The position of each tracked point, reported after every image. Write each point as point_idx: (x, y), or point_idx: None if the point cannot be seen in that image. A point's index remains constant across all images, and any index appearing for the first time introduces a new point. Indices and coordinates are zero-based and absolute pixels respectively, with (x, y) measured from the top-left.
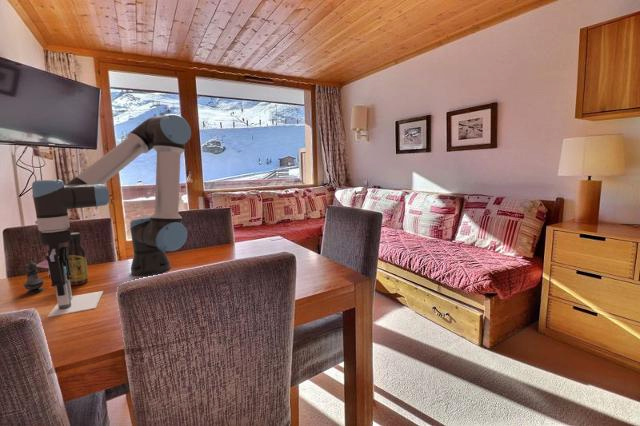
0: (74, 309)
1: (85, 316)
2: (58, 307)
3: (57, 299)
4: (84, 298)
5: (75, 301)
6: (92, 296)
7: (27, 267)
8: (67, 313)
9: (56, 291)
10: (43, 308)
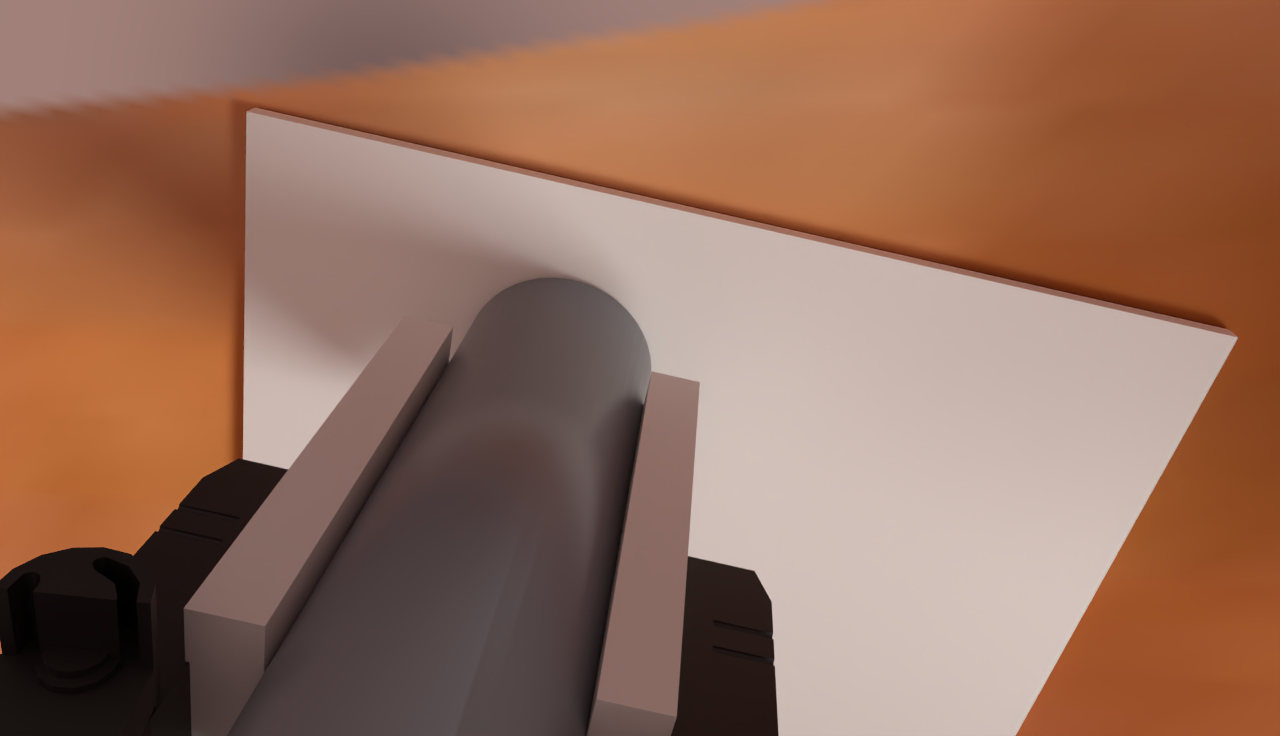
0: None
1: (9, 539)
2: (543, 285)
3: (353, 385)
4: (802, 611)
5: (755, 502)
6: (802, 697)
7: None
8: (249, 373)
9: (274, 502)
10: (876, 22)
